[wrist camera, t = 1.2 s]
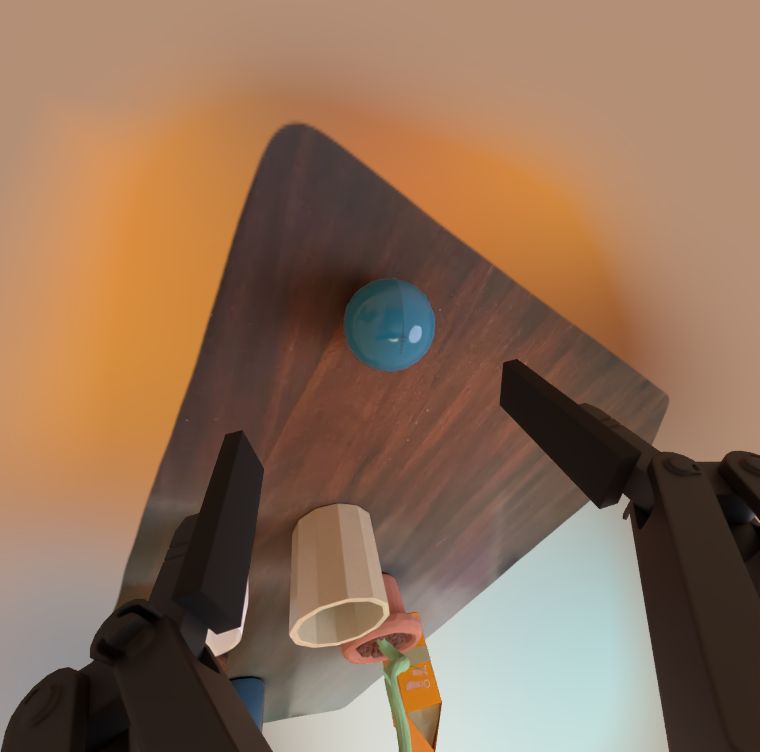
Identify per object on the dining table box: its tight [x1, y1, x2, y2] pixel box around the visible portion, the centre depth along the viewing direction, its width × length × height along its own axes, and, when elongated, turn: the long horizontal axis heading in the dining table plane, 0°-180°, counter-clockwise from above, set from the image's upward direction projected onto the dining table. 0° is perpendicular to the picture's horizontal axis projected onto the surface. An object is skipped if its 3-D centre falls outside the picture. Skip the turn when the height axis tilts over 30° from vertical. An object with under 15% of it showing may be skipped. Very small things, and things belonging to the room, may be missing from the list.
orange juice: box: [383, 612, 442, 752], centre depth 60 cm, size 8×9×20 cm
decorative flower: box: [341, 574, 425, 752], centre depth 43 cm, size 15×14×30 cm
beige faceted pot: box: [289, 503, 390, 648], centre depth 40 cm, size 12×12×12 cm
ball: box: [342, 277, 435, 372], centre depth 25 cm, size 8×8×8 cm
